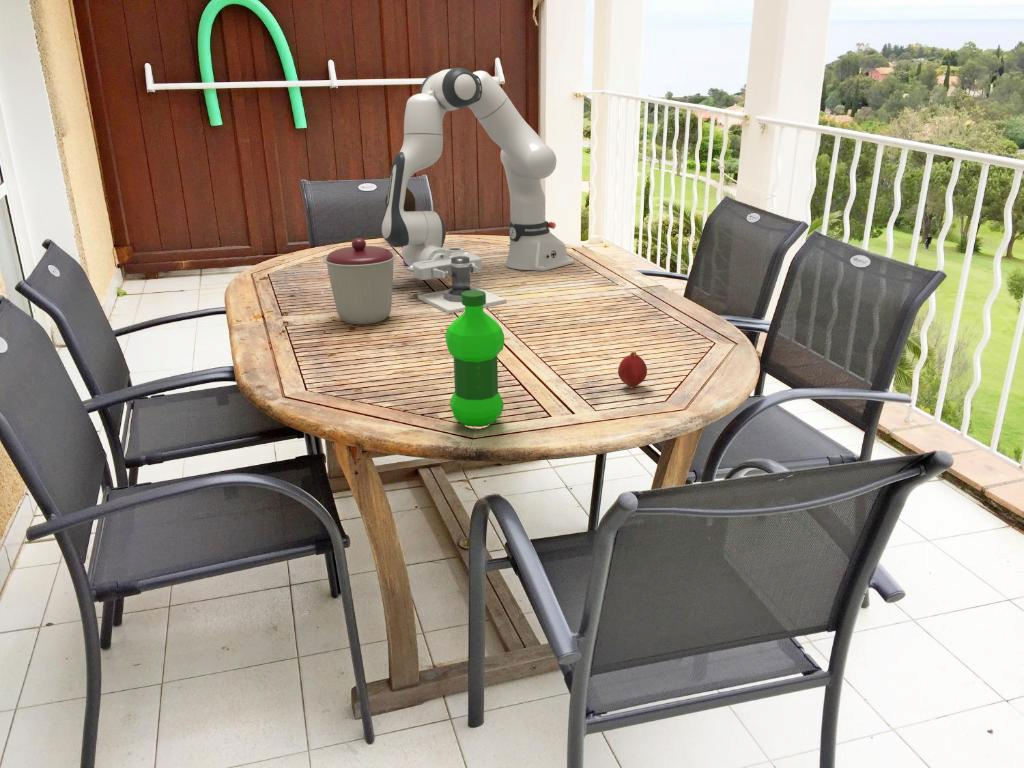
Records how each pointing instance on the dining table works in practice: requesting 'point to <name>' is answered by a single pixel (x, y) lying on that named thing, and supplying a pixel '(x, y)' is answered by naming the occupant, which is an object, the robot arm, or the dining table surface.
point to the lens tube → (460, 274)
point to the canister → (361, 282)
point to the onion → (632, 370)
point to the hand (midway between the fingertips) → (460, 272)
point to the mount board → (457, 305)
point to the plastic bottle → (475, 362)
